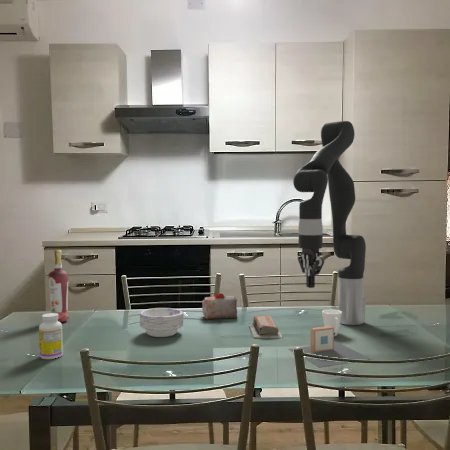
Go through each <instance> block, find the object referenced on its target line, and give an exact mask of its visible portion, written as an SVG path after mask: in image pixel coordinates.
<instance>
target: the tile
mask: <svg viewBox="0 0 450 450" xmlns="http://www.w3.org/2000/svg"><path fill="white" fill-rule="evenodd" d="M334 335H335V333H334V327H332V326H325V327H324V326H317V327H310V346H311V351H312V352H322V351H329V350H334V343H335V338H334V337H335V336H334Z"/></svg>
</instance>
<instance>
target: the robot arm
mask: <svg viewBox="0 0 450 450" xmlns="http://www.w3.org/2000/svg"><path fill="white" fill-rule="evenodd" d="M320 129H321V130H320V138H321V145H322V147H321V148H320V149H318V150H317V151H316V152H315V153H314V154H313V156H312V158H311V159H310V161H308V162H307V163H306V164H305V165H303V166H302V167H300V168H299V169H298V170H297V171H296V173H295V174H294V176H293V181H292V182H293V187H294V189H295V190H296V191H297V192H300V193H313V194H312V196H311V198H308V199H305V200H302V201H300V203H299V208H298V210H299V211H298V213H299V214H298V215H299V218H298V219H299V220H298V221H299V222H298V248H299V249H301V255H299V256H297V261H298V264H299V266H300V270H301V272H302V273H303V274H304V276H305V278H306V281H305V282H306V283H305V284H306V285H305V286H306V288H309V289H314V288H315V287H316V285H315V284H316V283H315V282H316V276H317V275H320V273H321V270H322V269H323V267H324V264H325V260H324V259H321V257H320V256H321V253H320V249H323V246H324V245H323V244H324V242H323V239H324V238H323V233H324V232H323V229H324V228H323V218H322V217H323V215H322V214H323V213H322V212H323V202H324V197H325V194H326V190H327V188H328V195H329V202H330V203H329V204H330V207H331V219H332V244H333V252H334V254H335V256H336V257H337V258H338V259H343V260H350V263H349V265H347V266H346V267H342V268H339V269H338V271H337V272H338V273H337V285H338V286H337V310H339V311H342V314H341V320H340V325H341V324H342V325H346V326H347V325H348V326H358V325H362V324H365V323H366V297H365V296H364V272H365V269H366V268H365V267H366V266H365V265H366V264H365V263H366V250H367V249H366V247H367V246H366V245H367V244H366V240H365V238H364V236H362V235H359V234H347V227H346V226H347V221H348V217H349V216H350V213H351V212H352V210H353V208H354V205H355V203H356V188H355V181H354V180H353V178H352V176H351V175H350V174H349V173H348V172H347V170H346V169H345V168H344V167H343V165H342V164H341V162H340V161H339V158H340V157H341V156H342V154H344V153H345V152H346V150H348V149H349V148H350V147H351V145H352V144H353V143H354V140H355V128H354V125H353V123H351V122H350V121H348V120H340V121H339V120H338V121H333V122H327V123H324V124H322V126H321V128H320ZM327 186H328V187H327Z"/></svg>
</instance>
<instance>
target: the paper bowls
mask: <svg viewBox="0 0 450 450" xmlns="http://www.w3.org/2000/svg"><path fill="white" fill-rule="evenodd" d="M139 327H140V328H142V329H143V330H145V333H146V334H147V335H148V336H149V337H153V338H167V337H172V336H174V335H175V334H177V333H178V330H179V329H181V328H183V327H184V311H183V310H181V309H177V308H171V307H155V308H148V309H144V310H141V311H140V312H139Z"/></svg>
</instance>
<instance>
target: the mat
mask: <svg viewBox="0 0 450 450" xmlns="http://www.w3.org/2000/svg"><path fill="white" fill-rule="evenodd" d="M302 348H303V350H304V352H305V353H311V354H316V355H322V356H328V357H338V358H349V359H369V360H368V361H372V360H374V359H373V358H371V357H369V356H367V355H365V354H362V353H360V352H359V351H357V350H354V349H352V348H351V347H348V346H346V345H344V344H343V343H339V342H334V350H329V351H322V352H312V351H311V345H309V346H303V347H302ZM288 350H289V351H291V352H292V353H294V352H293V348H288ZM304 360H305V361H307V362H309V363H311V364H312V365H314V366H316V367H318V368H319V369H320V368H326V367H331V366H332V367H333V366H339V365H347V364H349V363H348V362H335V361H327V360H320V359H313V358H307V357H305V359H304Z"/></svg>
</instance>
